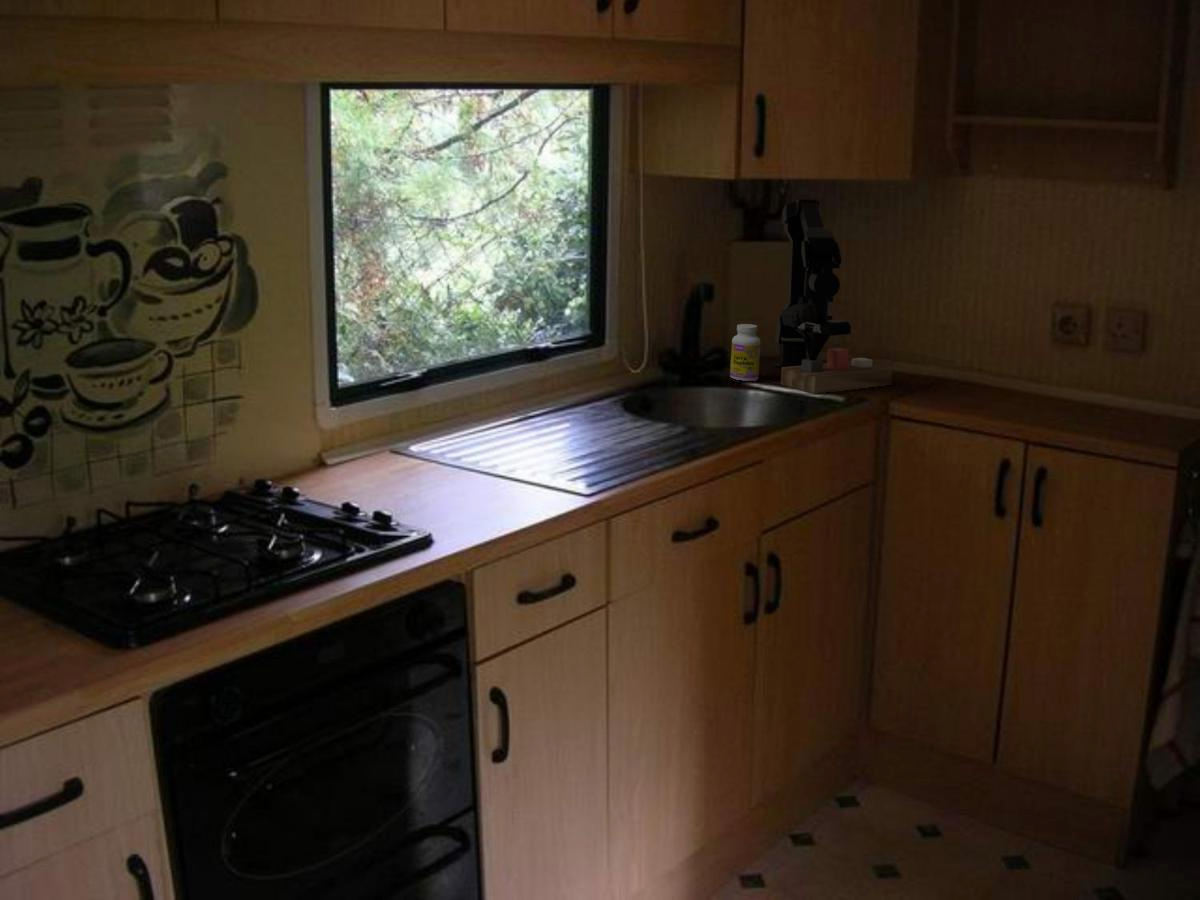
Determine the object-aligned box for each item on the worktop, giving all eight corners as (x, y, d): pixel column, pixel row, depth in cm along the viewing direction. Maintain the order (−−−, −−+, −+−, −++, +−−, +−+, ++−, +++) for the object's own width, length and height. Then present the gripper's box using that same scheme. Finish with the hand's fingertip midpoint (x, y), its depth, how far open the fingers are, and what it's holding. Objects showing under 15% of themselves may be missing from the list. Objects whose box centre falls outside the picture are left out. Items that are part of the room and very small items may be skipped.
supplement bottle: (727, 381, 318) (729, 326, 314) (732, 376, 324) (735, 322, 321) (755, 383, 316) (758, 328, 313) (760, 378, 322) (763, 324, 319)
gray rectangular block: (800, 381, 313) (801, 359, 311) (812, 379, 314) (813, 358, 313) (810, 383, 310) (811, 362, 309) (821, 382, 312) (823, 361, 310)
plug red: (826, 370, 316) (827, 348, 315) (837, 369, 318) (839, 347, 316) (836, 372, 313) (837, 351, 312) (847, 371, 315) (848, 350, 314)
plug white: (850, 379, 321) (851, 358, 319) (861, 378, 322) (862, 357, 321) (860, 382, 318) (861, 361, 316) (871, 381, 319) (872, 360, 318)
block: (780, 384, 315) (781, 367, 314) (856, 376, 327) (857, 359, 326) (814, 394, 306) (815, 376, 305) (891, 385, 317) (892, 368, 316)
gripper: (762, 288, 311) (759, 356, 315) (815, 299, 295) (811, 370, 299) (801, 286, 316) (797, 352, 320) (855, 296, 301) (850, 366, 305)
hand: (812, 360), depth 311 cm, fingers closed, pressing on gray rectangular block
